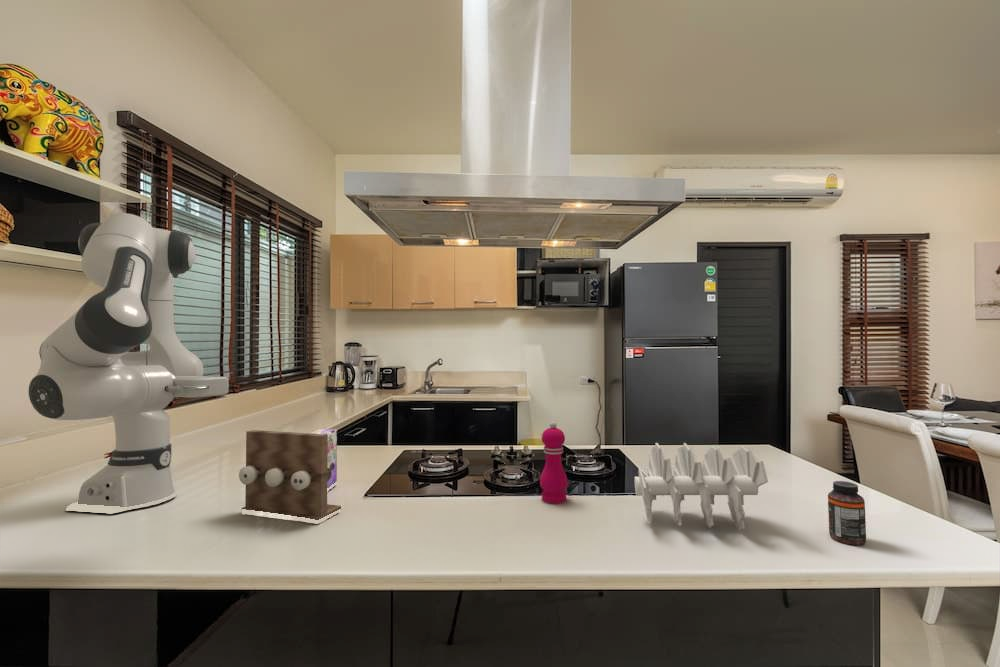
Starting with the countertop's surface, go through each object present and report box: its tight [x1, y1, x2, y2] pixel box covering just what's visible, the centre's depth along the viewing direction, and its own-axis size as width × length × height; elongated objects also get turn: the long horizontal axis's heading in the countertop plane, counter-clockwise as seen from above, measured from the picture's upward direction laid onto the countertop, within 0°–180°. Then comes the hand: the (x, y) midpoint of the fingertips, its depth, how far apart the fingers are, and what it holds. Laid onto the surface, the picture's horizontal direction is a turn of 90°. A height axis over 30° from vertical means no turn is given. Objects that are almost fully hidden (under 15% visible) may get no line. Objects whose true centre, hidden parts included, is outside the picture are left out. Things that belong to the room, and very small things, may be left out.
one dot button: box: [238, 466, 261, 486], centre depth 107 cm, size 4×6×4 cm
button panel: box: [241, 429, 342, 520], centre depth 108 cm, size 22×8×20 cm, turn 72°
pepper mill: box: [539, 421, 569, 504], centre depth 116 cm, size 7×7×20 cm
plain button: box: [265, 468, 286, 487], centre depth 105 cm, size 4×6×4 cm
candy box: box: [309, 428, 338, 488], centre depth 123 cm, size 14×6×16 cm, turn 179°
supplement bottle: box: [827, 480, 867, 546], centre depth 91 cm, size 6×6×11 cm
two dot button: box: [291, 470, 312, 490], centre depth 102 cm, size 4×6×4 cm
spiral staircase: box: [633, 442, 769, 530], centre depth 100 cm, size 18×18×25 cm
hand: (214, 383), depth 98 cm, fingers closed
